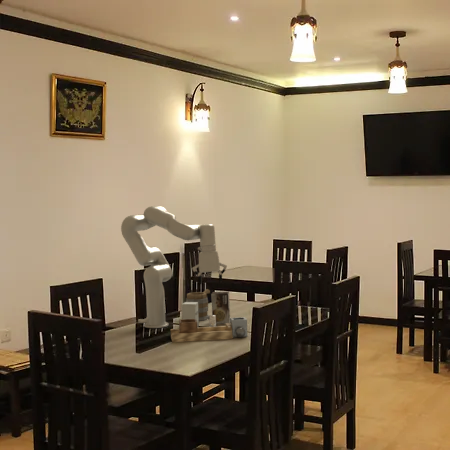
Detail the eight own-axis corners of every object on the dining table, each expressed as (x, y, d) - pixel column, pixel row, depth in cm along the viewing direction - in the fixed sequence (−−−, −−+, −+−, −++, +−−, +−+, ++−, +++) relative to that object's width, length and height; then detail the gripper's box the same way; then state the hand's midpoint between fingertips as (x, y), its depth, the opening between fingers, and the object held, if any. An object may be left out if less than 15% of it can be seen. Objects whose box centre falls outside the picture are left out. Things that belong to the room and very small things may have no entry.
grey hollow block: (233, 338, 324) (233, 321, 323) (230, 334, 334) (230, 317, 333) (248, 337, 325) (247, 320, 324) (245, 333, 335) (244, 317, 334)
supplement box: (195, 329, 350) (194, 304, 350) (181, 328, 352) (180, 304, 351) (199, 326, 358) (198, 301, 357) (185, 326, 359) (184, 301, 359)
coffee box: (230, 321, 369) (229, 291, 368) (229, 323, 362) (228, 292, 362) (213, 321, 369) (212, 291, 369) (212, 324, 363) (211, 293, 362)
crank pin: (210, 332, 340) (209, 316, 340) (209, 331, 344) (208, 315, 343) (216, 332, 341) (216, 315, 340) (215, 330, 344) (215, 314, 344)
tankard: (200, 321, 371) (199, 293, 370) (181, 320, 377) (180, 292, 377) (220, 315, 388) (219, 288, 387) (201, 314, 394) (200, 288, 394)
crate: (180, 338, 322) (180, 323, 322) (179, 334, 332) (178, 319, 331) (197, 337, 323) (197, 322, 323) (196, 333, 333) (195, 318, 332)
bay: (172, 342, 320) (171, 330, 320) (170, 336, 333) (170, 325, 333) (232, 338, 324) (232, 327, 323) (228, 333, 337) (228, 322, 336)
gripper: (190, 250, 343) (192, 285, 343) (225, 248, 341) (227, 283, 342) (191, 249, 350) (194, 283, 351) (226, 247, 349) (228, 281, 349)
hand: (210, 283), depth 346 cm, fingers open, 9 cm apart
